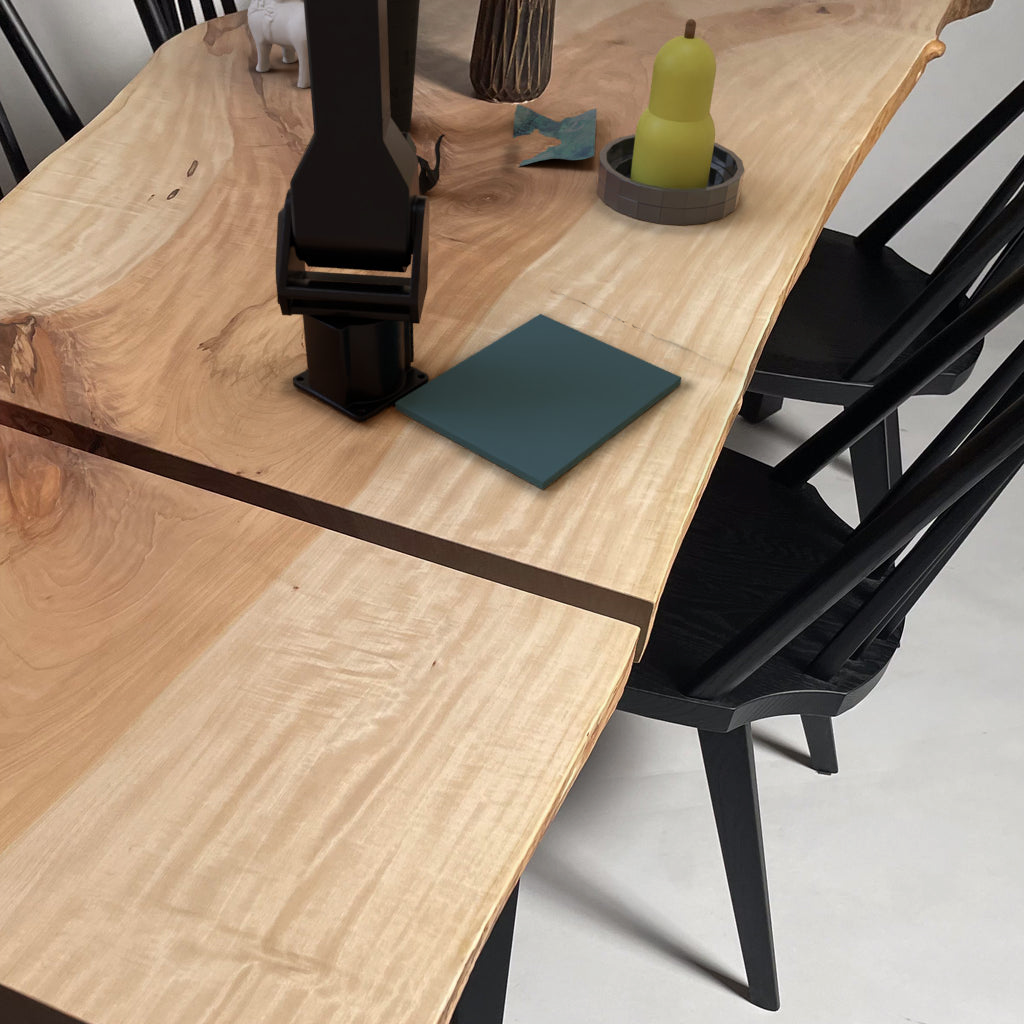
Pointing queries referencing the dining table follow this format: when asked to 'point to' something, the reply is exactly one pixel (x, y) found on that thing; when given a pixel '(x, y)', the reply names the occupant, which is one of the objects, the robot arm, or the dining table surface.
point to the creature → (429, 170)
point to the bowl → (668, 201)
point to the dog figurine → (280, 33)
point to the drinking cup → (402, 58)
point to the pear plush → (678, 116)
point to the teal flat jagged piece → (559, 134)
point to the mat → (539, 398)
